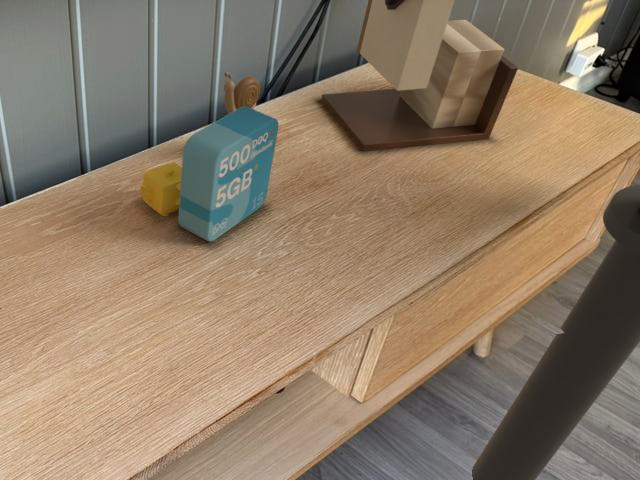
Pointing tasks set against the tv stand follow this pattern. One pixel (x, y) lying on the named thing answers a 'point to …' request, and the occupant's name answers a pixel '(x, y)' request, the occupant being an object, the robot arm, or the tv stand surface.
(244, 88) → the snail figurine
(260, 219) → the tv stand surface
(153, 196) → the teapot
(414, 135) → the book rack
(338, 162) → the tv stand surface
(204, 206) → the data package
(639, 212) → the robot arm
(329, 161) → the tv stand surface
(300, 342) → the tv stand surface
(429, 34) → the cream book
